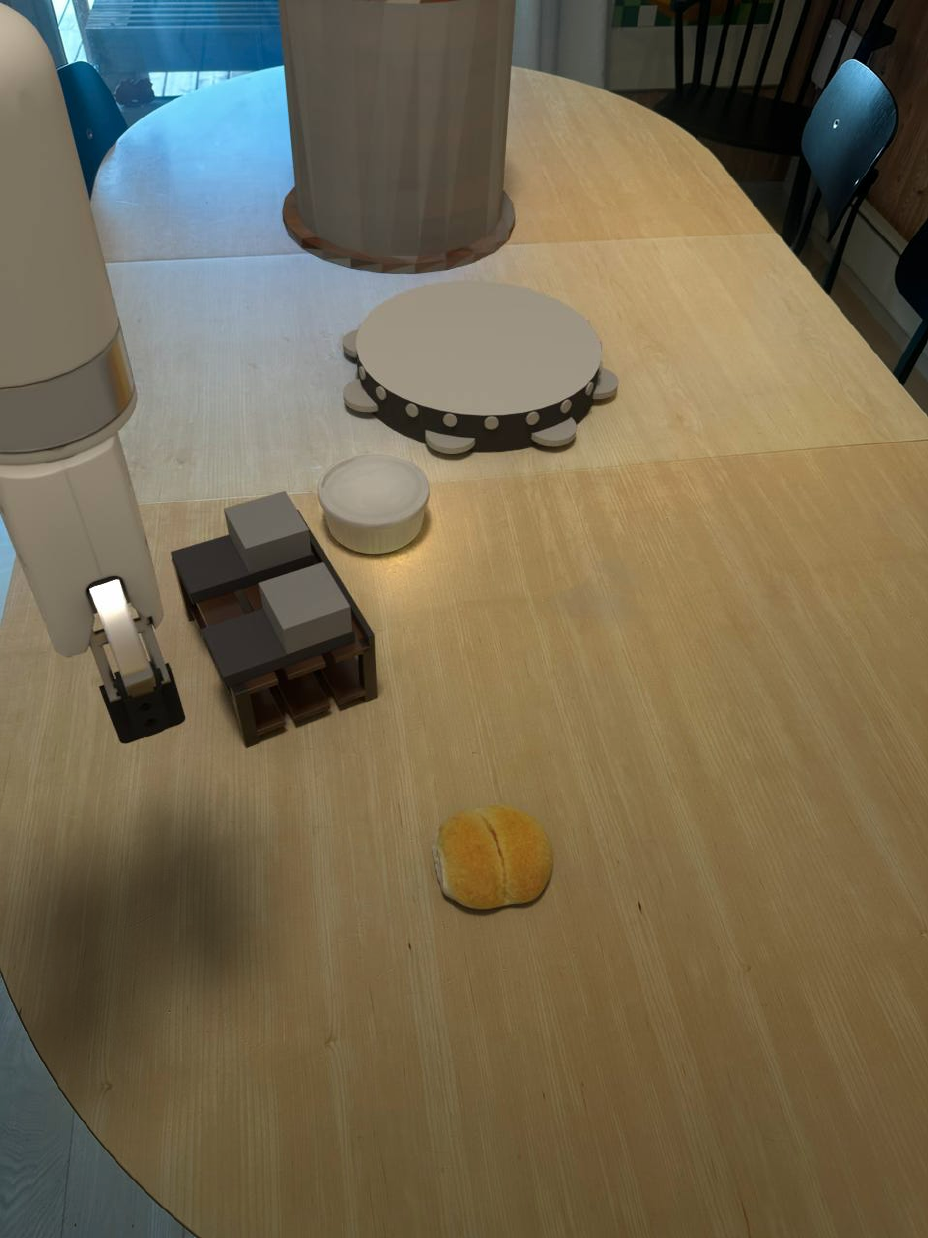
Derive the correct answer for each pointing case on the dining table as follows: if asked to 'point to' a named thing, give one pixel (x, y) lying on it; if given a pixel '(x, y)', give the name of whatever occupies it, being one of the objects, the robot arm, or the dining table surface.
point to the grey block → (247, 549)
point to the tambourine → (477, 367)
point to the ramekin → (374, 501)
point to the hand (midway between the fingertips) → (126, 660)
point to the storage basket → (398, 130)
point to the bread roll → (492, 857)
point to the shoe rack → (297, 679)
